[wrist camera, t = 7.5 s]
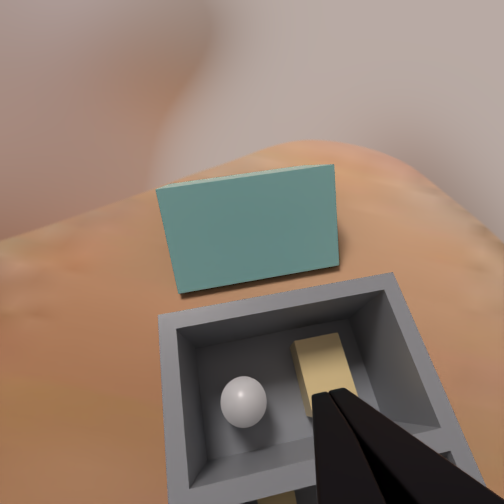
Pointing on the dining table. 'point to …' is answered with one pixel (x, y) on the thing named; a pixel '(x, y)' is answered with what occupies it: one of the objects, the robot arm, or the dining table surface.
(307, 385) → the tub
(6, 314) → the dining table surface
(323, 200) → the lid
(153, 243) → the dining table surface
